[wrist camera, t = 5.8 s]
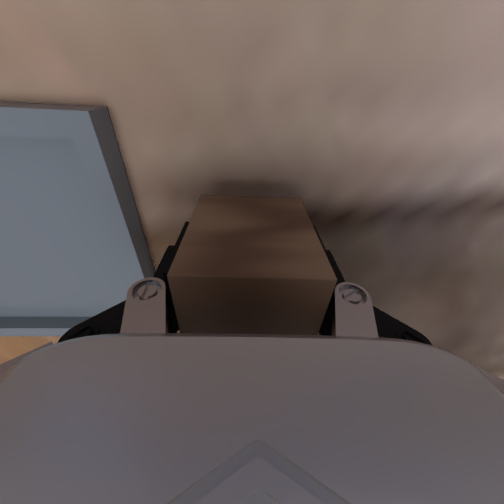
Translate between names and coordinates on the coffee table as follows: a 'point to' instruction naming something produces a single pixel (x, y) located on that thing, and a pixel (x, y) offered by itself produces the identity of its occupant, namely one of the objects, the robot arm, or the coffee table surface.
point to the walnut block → (250, 269)
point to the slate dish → (64, 219)
